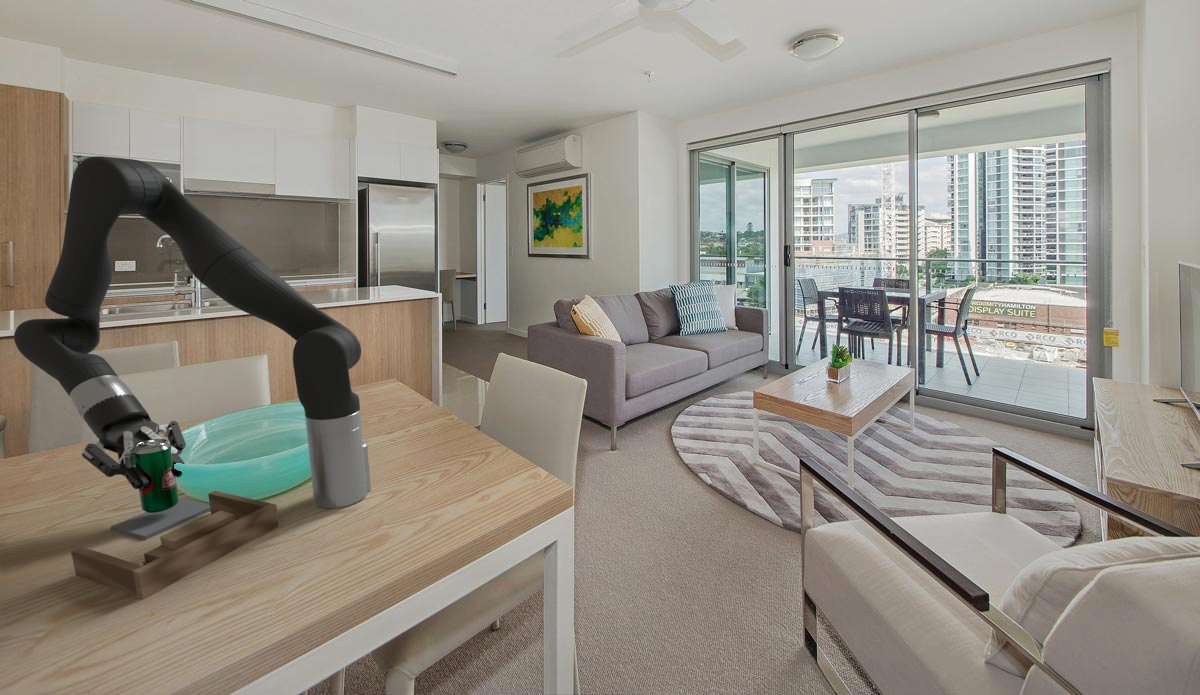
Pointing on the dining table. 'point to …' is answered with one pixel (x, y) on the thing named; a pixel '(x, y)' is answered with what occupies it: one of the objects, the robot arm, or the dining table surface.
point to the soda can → (156, 475)
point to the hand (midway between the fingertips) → (164, 480)
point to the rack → (180, 550)
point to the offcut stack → (189, 534)
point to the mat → (161, 519)
